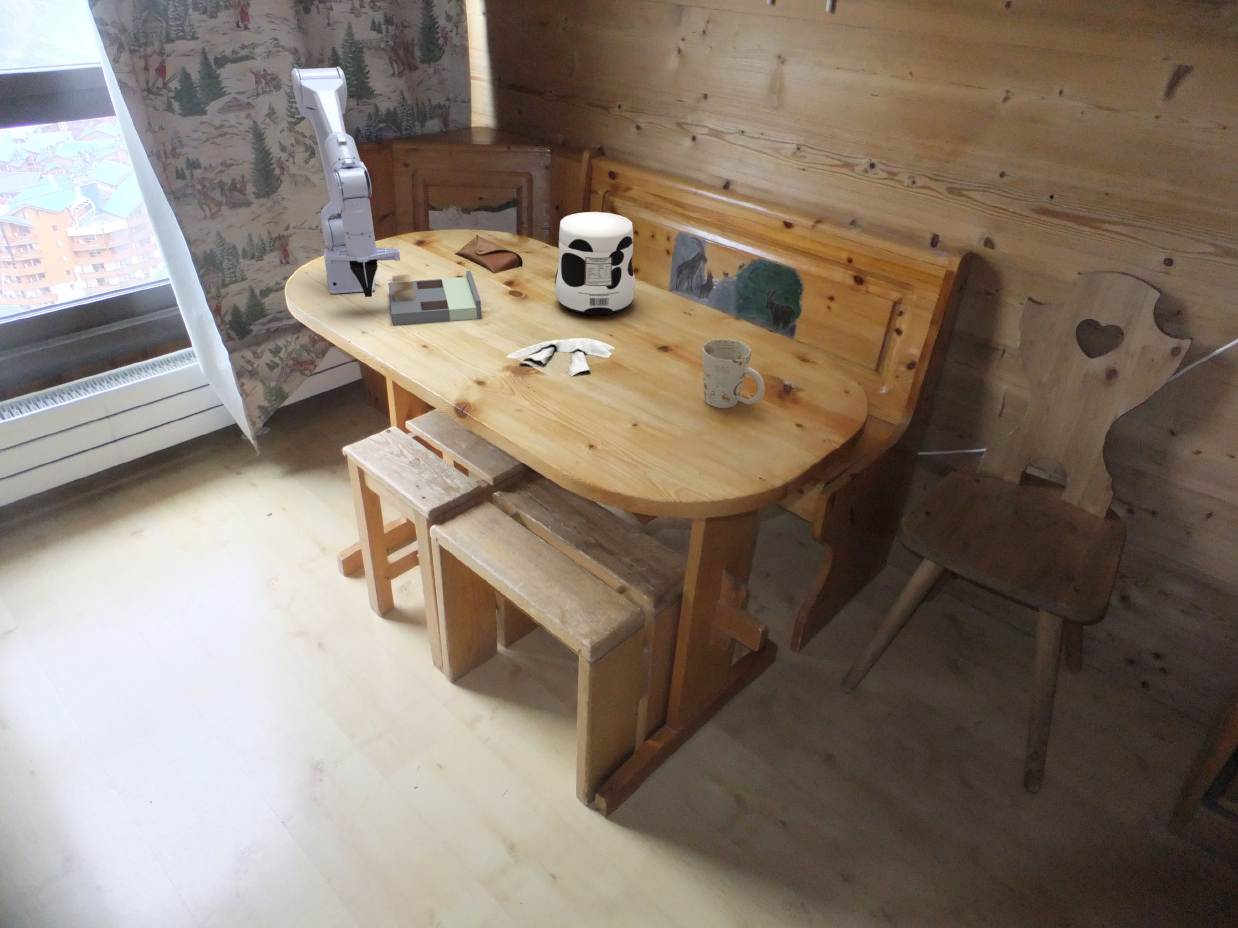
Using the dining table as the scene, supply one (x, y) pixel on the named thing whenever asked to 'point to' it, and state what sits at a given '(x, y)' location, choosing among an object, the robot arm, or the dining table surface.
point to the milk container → (595, 263)
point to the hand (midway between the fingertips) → (368, 295)
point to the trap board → (438, 301)
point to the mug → (727, 373)
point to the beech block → (403, 287)
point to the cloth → (568, 346)
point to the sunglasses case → (490, 255)
